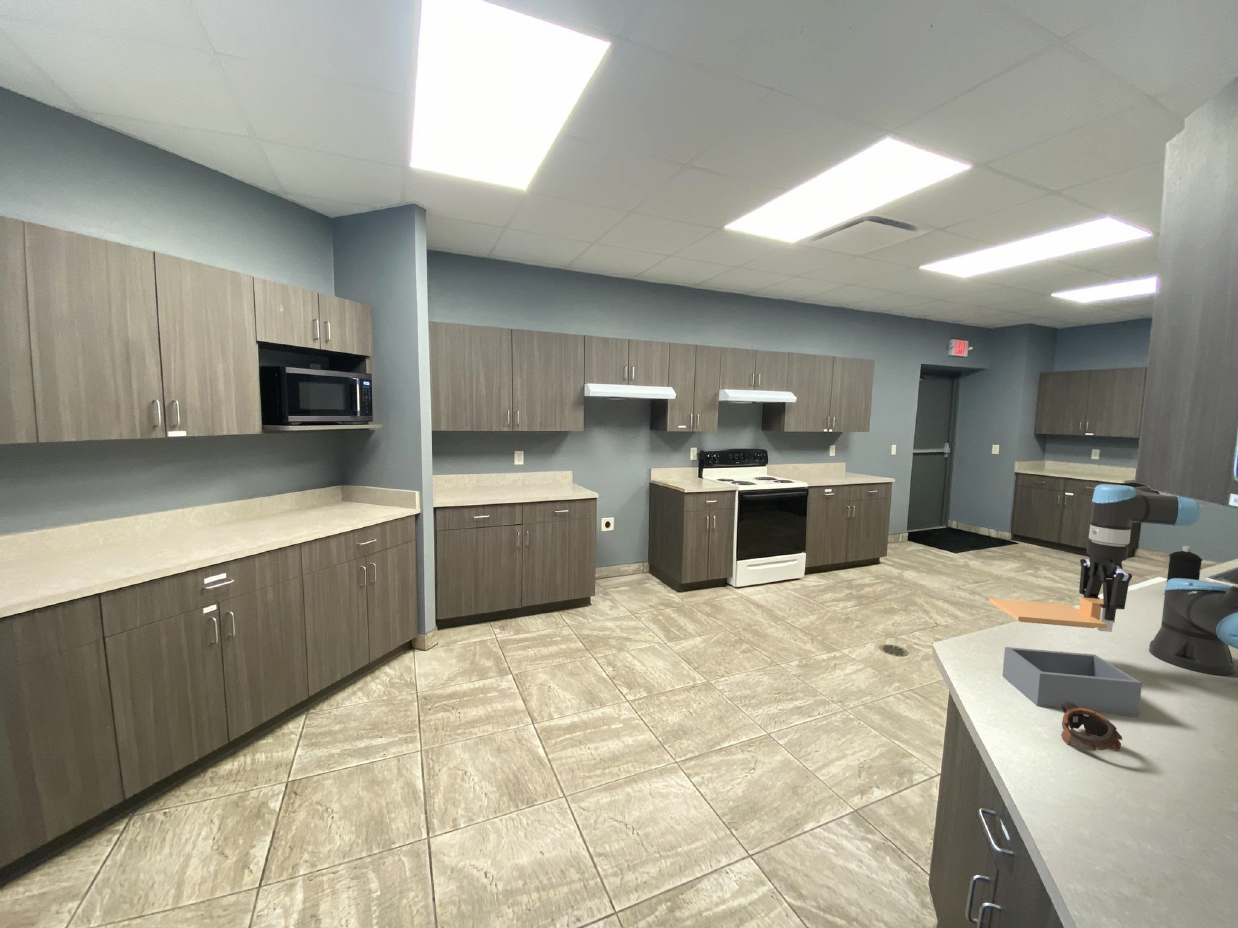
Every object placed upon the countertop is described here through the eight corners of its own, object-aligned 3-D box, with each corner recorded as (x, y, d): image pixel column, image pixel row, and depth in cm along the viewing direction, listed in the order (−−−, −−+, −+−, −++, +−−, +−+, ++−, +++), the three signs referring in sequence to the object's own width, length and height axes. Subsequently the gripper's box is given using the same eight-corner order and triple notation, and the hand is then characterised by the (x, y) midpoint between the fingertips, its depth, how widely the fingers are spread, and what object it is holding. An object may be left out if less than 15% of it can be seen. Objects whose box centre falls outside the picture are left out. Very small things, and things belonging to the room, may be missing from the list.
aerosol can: (1178, 600, 175) (1185, 548, 174) (1157, 592, 183) (1163, 542, 182) (1204, 602, 174) (1211, 549, 172) (1182, 593, 182) (1188, 544, 180)
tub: (1091, 684, 118) (1094, 654, 117) (1138, 716, 105) (1142, 682, 105) (1002, 676, 122) (1005, 646, 121) (1036, 705, 109) (1040, 673, 108)
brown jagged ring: (1140, 763, 92) (1134, 735, 89) (1088, 777, 93) (1082, 750, 91) (1084, 711, 103) (1078, 685, 101) (1039, 725, 105) (1032, 699, 102)
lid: (1088, 612, 132) (1090, 593, 131) (1129, 633, 119) (1131, 611, 119) (988, 604, 136) (990, 585, 136) (1017, 623, 124) (1020, 602, 123)
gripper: (1067, 534, 133) (1058, 612, 135) (1119, 550, 116) (1107, 640, 118) (1098, 535, 131) (1088, 615, 134) (1154, 552, 115) (1142, 643, 117)
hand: (1097, 626), depth 126 cm, fingers closed on lid, 4 cm apart
